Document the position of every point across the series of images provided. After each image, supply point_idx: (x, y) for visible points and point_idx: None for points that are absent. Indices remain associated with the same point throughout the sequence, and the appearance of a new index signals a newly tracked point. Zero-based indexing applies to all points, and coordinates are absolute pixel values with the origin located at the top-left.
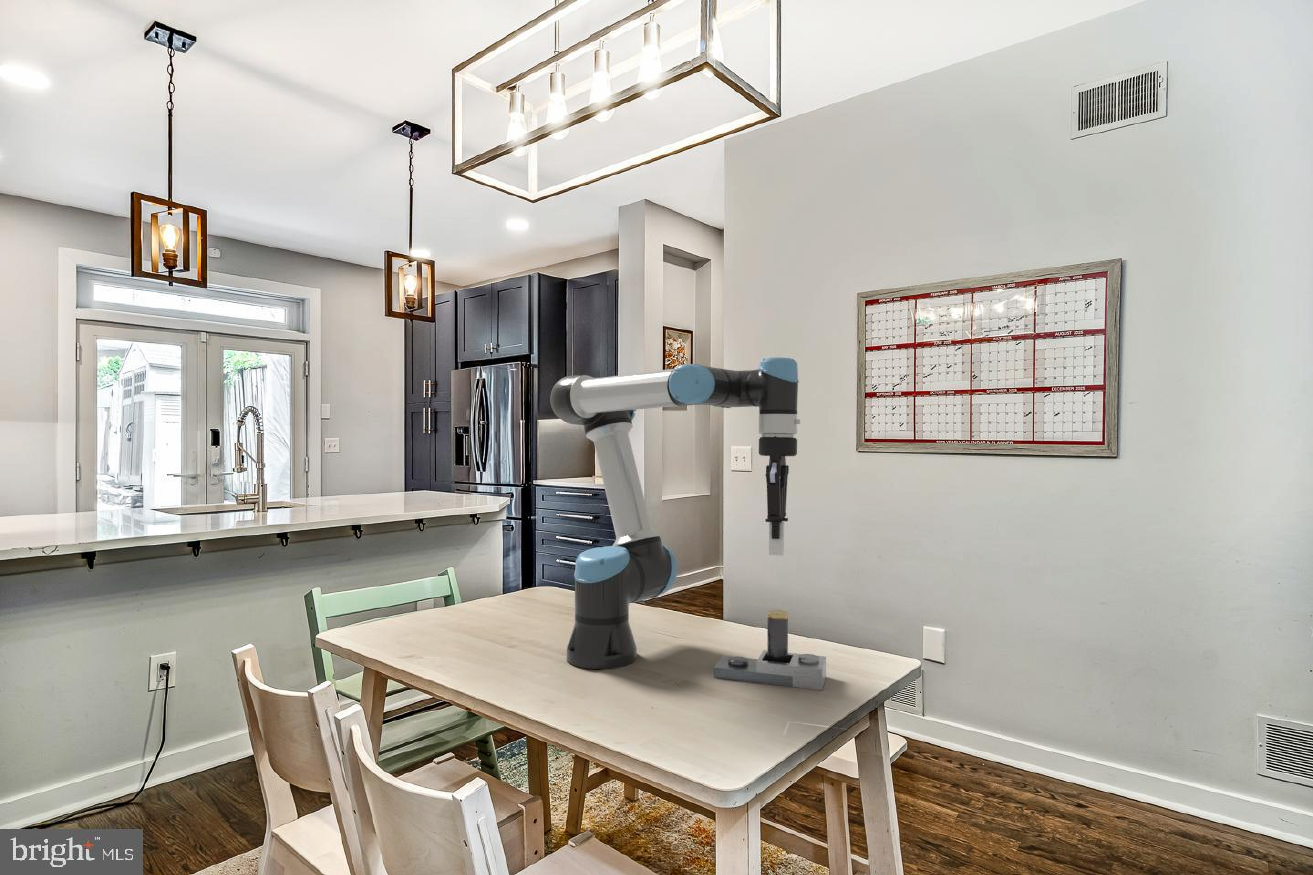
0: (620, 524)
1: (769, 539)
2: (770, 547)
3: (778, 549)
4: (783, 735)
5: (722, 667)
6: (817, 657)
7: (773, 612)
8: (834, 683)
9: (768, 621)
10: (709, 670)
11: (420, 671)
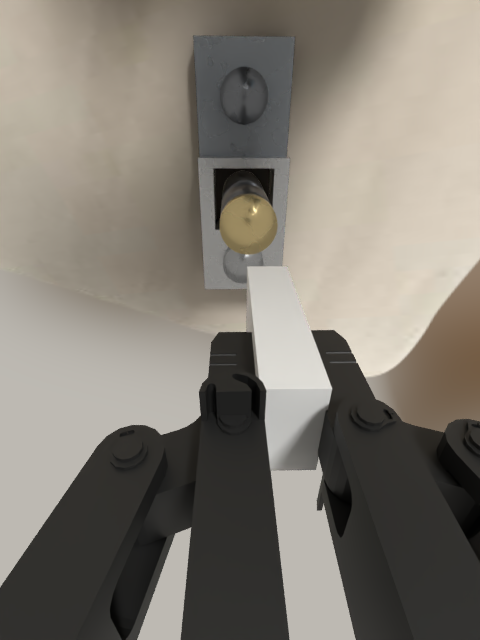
0: None
1: (251, 308)
2: (248, 291)
3: (247, 326)
4: (4, 240)
5: (200, 61)
6: (245, 280)
7: (243, 215)
8: None
9: (231, 197)
10: (248, 9)
11: None
